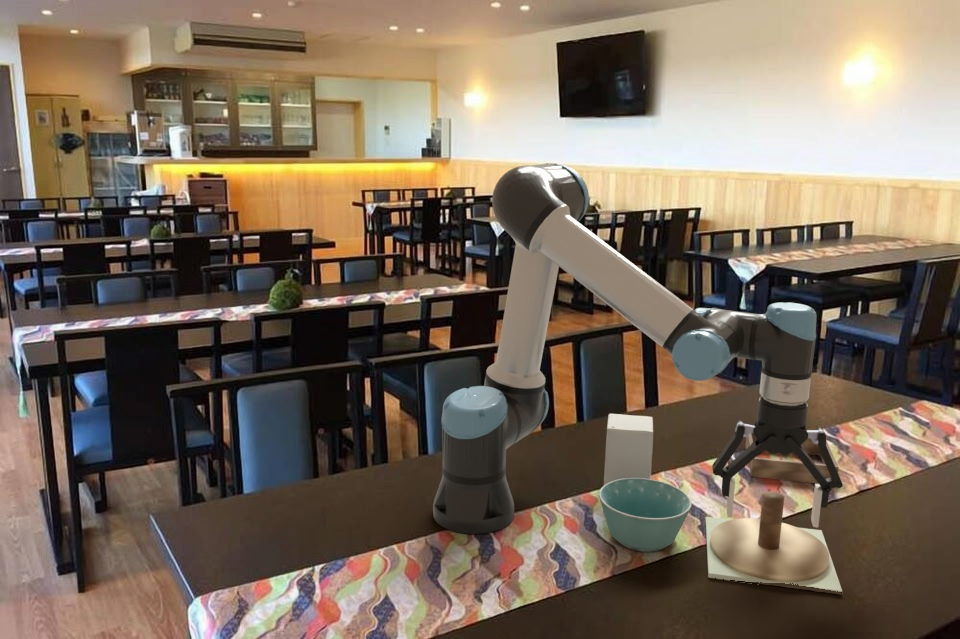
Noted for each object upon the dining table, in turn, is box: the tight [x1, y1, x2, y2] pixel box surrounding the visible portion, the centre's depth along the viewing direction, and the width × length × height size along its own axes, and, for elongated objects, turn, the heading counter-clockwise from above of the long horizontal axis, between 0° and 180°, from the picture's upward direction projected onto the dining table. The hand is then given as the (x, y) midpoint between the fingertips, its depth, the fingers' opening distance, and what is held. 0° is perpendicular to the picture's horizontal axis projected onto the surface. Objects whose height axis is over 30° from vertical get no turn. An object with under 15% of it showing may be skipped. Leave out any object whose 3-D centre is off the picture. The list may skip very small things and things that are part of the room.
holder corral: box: [744, 433, 839, 484], centre depth 172 cm, size 17×17×4 cm
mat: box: [705, 516, 843, 593], centre depth 136 cm, size 20×20×1 cm
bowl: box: [598, 478, 692, 553], centre depth 140 cm, size 16×16×8 cm
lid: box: [710, 490, 830, 582], centre depth 134 cm, size 19×19×10 cm
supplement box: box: [603, 413, 654, 486], centre depth 157 cm, size 9×9×15 cm
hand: (771, 518), depth 134 cm, fingers open, 13 cm apart
